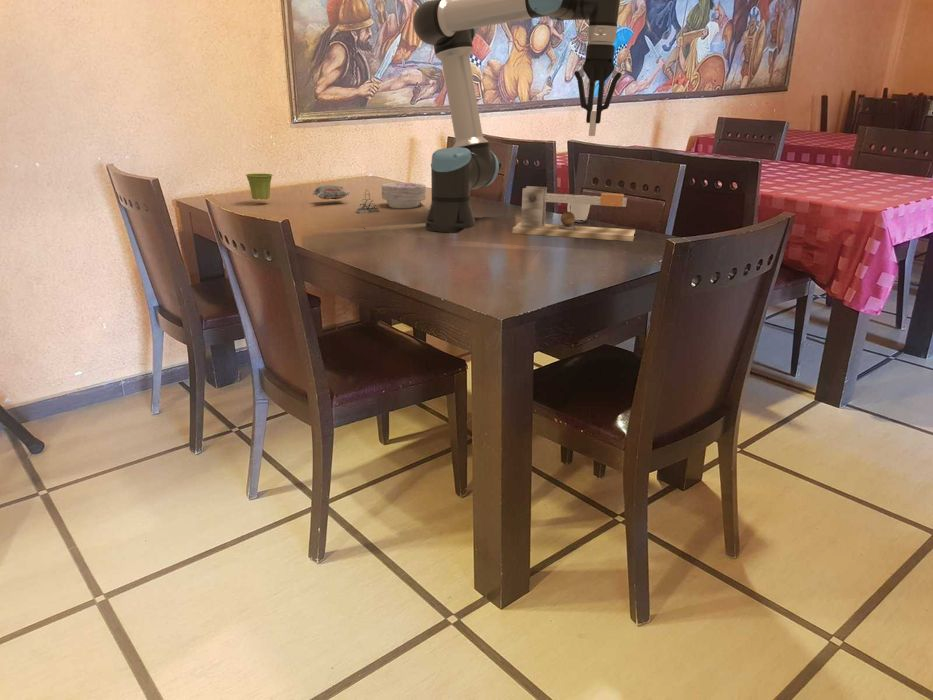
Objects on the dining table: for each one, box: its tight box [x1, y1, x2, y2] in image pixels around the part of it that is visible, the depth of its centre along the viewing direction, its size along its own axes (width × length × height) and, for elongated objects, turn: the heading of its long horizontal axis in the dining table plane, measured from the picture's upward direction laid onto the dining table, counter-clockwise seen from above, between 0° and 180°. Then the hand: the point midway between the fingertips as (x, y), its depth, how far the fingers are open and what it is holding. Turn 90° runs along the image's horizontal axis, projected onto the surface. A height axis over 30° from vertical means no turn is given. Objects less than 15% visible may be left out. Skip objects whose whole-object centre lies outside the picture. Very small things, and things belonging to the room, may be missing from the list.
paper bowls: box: [381, 182, 427, 209], centre depth 240 cm, size 15×15×8 cm
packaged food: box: [312, 185, 350, 201], centre depth 253 cm, size 9×12×5 cm
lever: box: [543, 192, 628, 208], centre depth 196 cm, size 28×4×4 cm, turn 74°
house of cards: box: [355, 189, 380, 214], centre depth 232 cm, size 9×9×8 cm
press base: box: [512, 185, 636, 242], centre depth 198 cm, size 34×10×12 cm, turn 74°
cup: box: [566, 195, 591, 221], centre depth 218 cm, size 7×10×8 cm
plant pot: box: [245, 173, 273, 200], centre depth 254 cm, size 9×9×9 cm
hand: (591, 135), depth 194 cm, fingers closed
